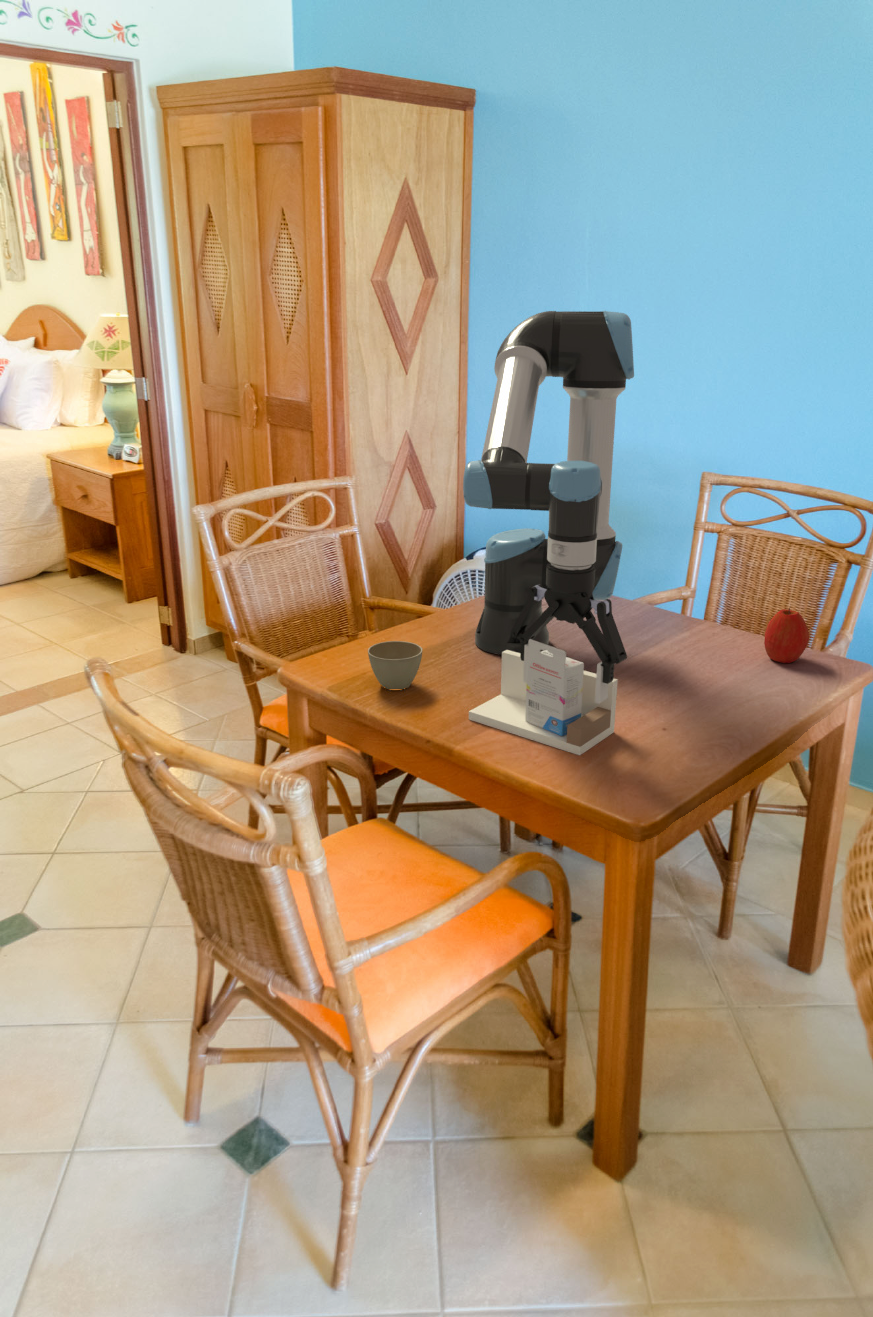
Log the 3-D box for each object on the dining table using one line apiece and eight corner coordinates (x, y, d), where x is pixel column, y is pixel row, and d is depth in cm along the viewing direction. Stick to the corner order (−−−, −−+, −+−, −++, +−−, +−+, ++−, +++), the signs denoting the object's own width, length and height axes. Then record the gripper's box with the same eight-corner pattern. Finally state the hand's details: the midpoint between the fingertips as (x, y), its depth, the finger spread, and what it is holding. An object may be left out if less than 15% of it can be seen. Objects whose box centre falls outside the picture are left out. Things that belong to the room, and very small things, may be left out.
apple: (811, 658, 201) (818, 607, 197) (795, 670, 195) (802, 617, 191) (771, 649, 206) (777, 598, 202) (754, 660, 200) (760, 608, 196)
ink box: (582, 728, 167) (587, 644, 162) (561, 737, 164) (566, 652, 158) (543, 712, 173) (547, 631, 168) (523, 721, 170) (526, 638, 164)
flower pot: (431, 680, 190) (431, 645, 187) (407, 700, 182) (407, 663, 179) (384, 672, 194) (383, 637, 191) (358, 690, 186) (357, 654, 183)
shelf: (468, 719, 174) (469, 667, 171) (505, 699, 182) (506, 649, 179) (579, 755, 161) (582, 700, 158) (613, 732, 169) (617, 679, 166)
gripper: (491, 555, 162) (488, 678, 169) (631, 583, 147) (621, 717, 155) (517, 545, 167) (514, 665, 175) (655, 572, 153) (644, 701, 160)
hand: (564, 690), depth 165 cm, fingers open, 13 cm apart
